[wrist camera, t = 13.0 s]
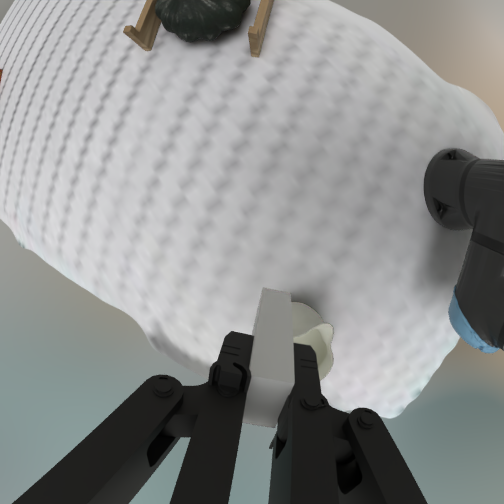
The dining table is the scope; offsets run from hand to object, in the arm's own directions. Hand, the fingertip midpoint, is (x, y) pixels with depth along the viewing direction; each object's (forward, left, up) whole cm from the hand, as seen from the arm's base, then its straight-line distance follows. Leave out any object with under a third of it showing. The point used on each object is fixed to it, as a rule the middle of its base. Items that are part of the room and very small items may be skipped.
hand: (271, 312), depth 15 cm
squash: (+17, -33, -31) cm, 49 cm away
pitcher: (-8, +18, -31) cm, 37 cm away
